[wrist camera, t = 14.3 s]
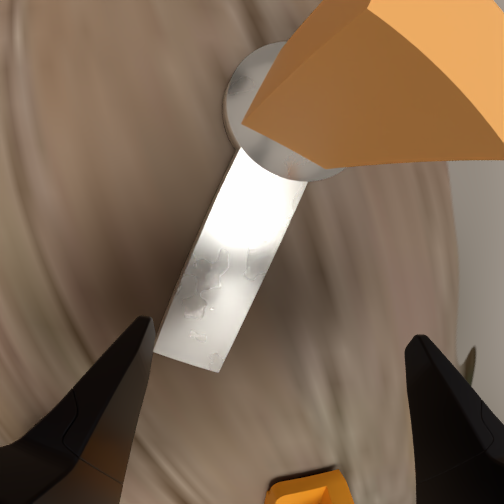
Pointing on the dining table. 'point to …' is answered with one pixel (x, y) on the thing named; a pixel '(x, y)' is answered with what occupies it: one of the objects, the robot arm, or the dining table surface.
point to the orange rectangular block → (388, 84)
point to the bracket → (311, 490)
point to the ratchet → (235, 230)
